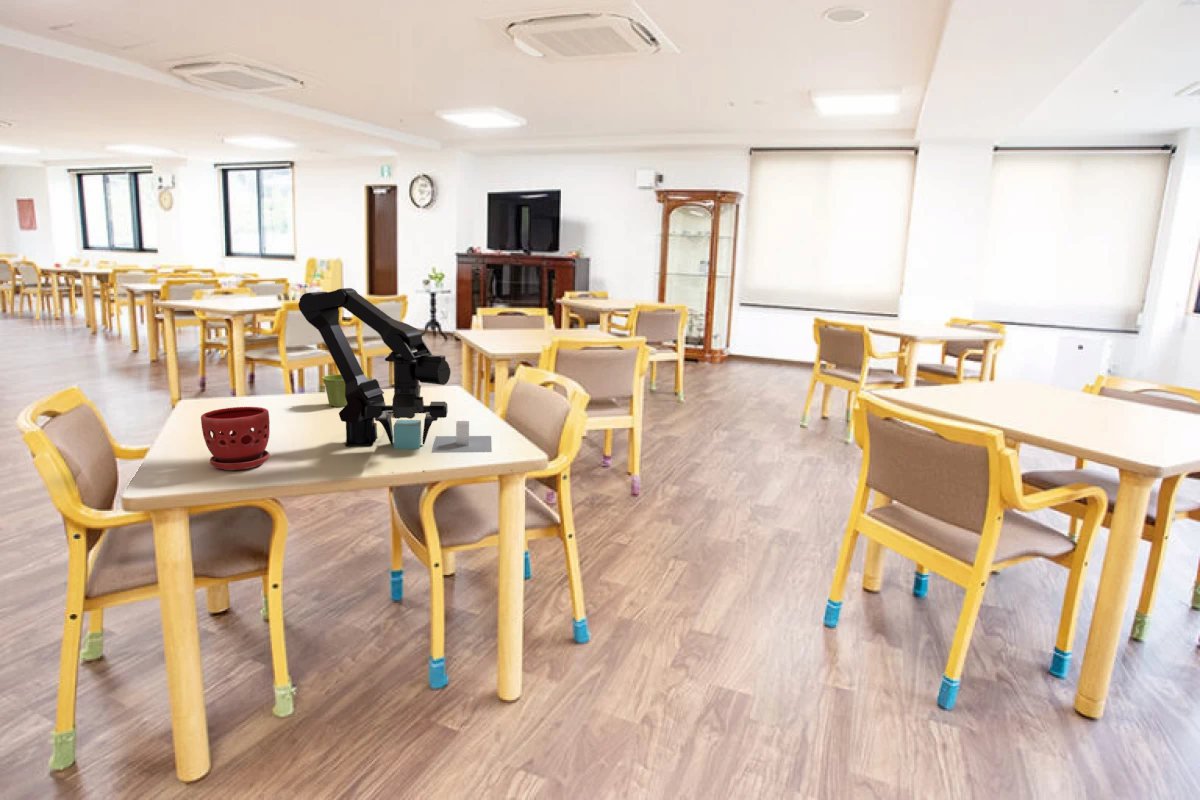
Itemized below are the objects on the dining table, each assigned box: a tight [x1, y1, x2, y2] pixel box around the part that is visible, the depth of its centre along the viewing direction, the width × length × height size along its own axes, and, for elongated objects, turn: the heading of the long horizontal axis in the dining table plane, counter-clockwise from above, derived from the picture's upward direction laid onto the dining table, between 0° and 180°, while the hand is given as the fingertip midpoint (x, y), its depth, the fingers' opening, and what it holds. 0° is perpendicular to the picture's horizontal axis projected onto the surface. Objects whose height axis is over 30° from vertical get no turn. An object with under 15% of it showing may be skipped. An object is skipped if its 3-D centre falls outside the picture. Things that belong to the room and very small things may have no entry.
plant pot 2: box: [321, 373, 347, 408], centre depth 207 cm, size 9×9×9 cm
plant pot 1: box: [200, 406, 271, 471], centre depth 150 cm, size 13×13×12 cm
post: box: [455, 420, 470, 446], centre depth 169 cm, size 3×3×5 cm
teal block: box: [393, 419, 422, 450], centre depth 166 cm, size 6×6×7 cm
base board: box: [431, 435, 493, 454], centre depth 170 cm, size 14×14×1 cm
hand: (407, 444), depth 167 cm, fingers open, 7 cm apart
